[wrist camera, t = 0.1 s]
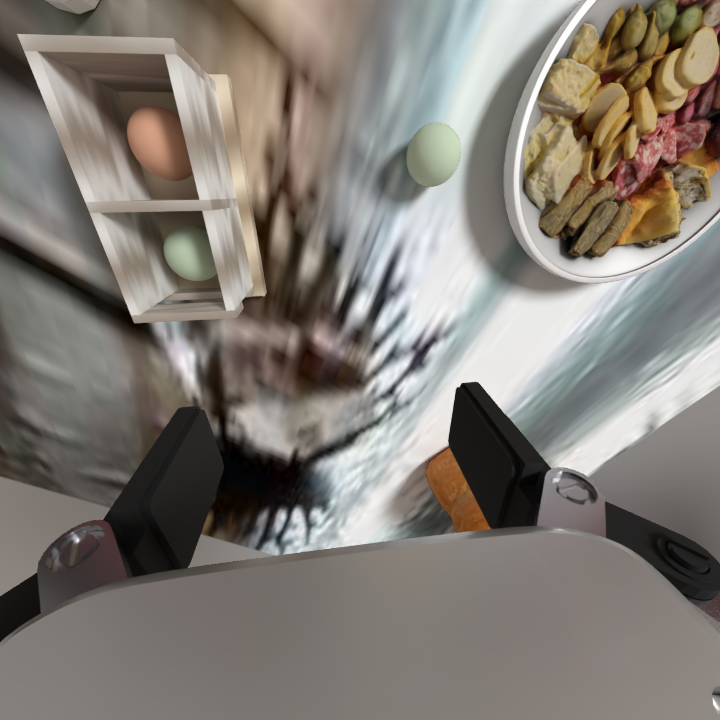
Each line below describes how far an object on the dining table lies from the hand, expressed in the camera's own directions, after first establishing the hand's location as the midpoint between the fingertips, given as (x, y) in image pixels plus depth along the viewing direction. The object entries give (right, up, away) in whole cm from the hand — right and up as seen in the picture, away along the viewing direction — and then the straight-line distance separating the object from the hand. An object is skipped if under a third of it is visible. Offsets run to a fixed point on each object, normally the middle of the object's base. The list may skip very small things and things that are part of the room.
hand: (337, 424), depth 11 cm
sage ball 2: (+9, +24, +20) cm, 33 cm away
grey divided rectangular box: (-18, +20, +22) cm, 35 cm away
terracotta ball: (-17, +22, +16) cm, 32 cm away
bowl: (+31, +28, +25) cm, 49 cm away
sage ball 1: (-17, +14, +21) cm, 30 cm away
